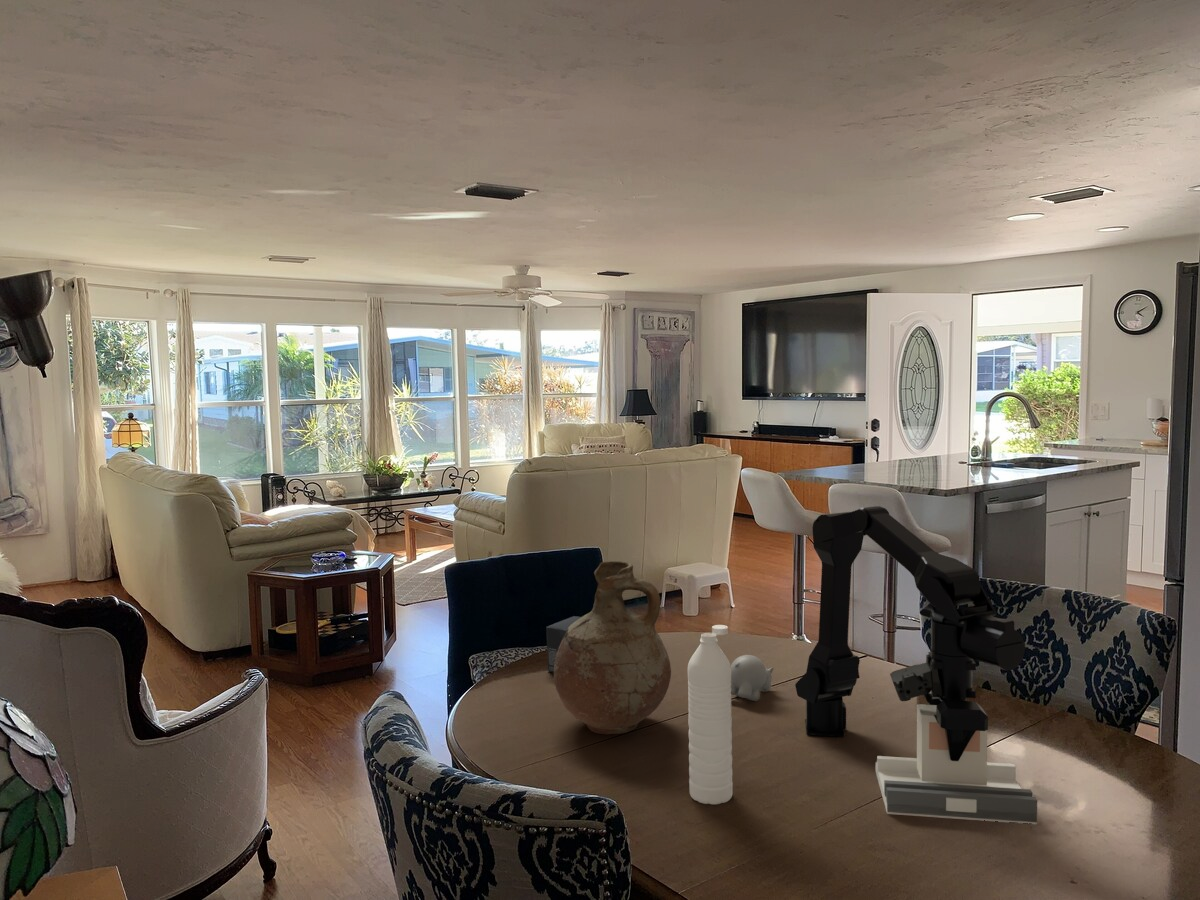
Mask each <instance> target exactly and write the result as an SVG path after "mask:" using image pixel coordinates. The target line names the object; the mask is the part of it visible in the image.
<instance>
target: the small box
mask: <svg viewBox="0 0 1200 900" xmlns="http://www.w3.org/2000/svg"><path fill="white" fill-rule="evenodd" d="M581 617H582V616H575V615H573V616H570V617H568V618H565V619H562V620H560V621H558V622H555V623H553V624H550V625H548V626H546V629H545V631H546V649H547V654H546V655H547V672H548V671H549V672H548V673H550V672H553V673H552V674H554V664H555V659H556V655H557V652H558V649H559V646H560V644H561V642H562V640H563V638H564V636H565V634H566V631H567V628H568V627H569V626H570V625H571V624H573V623H574V622H575V621H577V620H578V619H580V618H581Z"/></svg>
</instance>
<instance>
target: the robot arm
mask: <svg viewBox="0 0 1200 900" xmlns="http://www.w3.org/2000/svg"><path fill="white" fill-rule="evenodd" d="M865 536H868V537H869V538H870V539H871V540H872V541H873V542H874V543H876V544H877V545H878V546H879V547H880V548H881V549H882V550H884V551H885V552H886V553H887V554H888V555H890V557H891V558H893V559H894V560H895V561H896V562H897V563H899V564H900V565H901V566H902V567H903V568H904V569H905V570H907V571H908V572H909V573H910V574H911V575H912V577H913V579H914V582H915V587H916V589H917V590H918V591H919V592H920V594H921V595H922V596H923V597H924V599H926V600H927V602H928V604H927V605H926V606H925V607H923V608H922V609H920V610H919V615H921V616H923V617H925V618H926V617H927V618H929V619H930V623H931V625H930V651H928V652H927V653H928V654H926V657H925V658H926V659H925V662H923V663H918V664H913V665H910V666H907V667H903V668H900V669H895V670H894V671H892V672H890V673H889V676H890V679H891V681H892V683H893V686H894V689H895V691H896V694H897V697H898V698H899V701H900V702H907V701H910V700H912V699H913V698H917V697H920V696H924V698H925V700H926V702H927V703H928V705H937V706H936V715H934V717H935V719H936V721H937V722H938V724H939V725H940V727H941V728H944V729H945V733H946V739H947V745H948V750H949V756H950V760H951V761H959V759H960V757H961V756H962V754H963V752H964V750H965V748H966V747H967V745H968V743H969V741H970V740H971V738H972V736H973V735H974V733H975V732H976V731H986V730H987V731H988V730H989V716H988V714H987V713H986V712H985V710H984V708H983V707H982V706H981V705H980V704H979V703H978V702H977V701H975V700H974V701H972V700H967V698H969V699H976V693H977V692H976V689H975V687H973V671H976V669H977V663H976V661H977V662H980V663H983V664H985V665H989V666H991V667H995V668H998V669H1000V670H1003V671H1008V672H1009V671H1013V670H1015V669H1016V668H1017V667H1018V666H1019V665H1020V664H1021V662H1022V661H1023V658H1024V655H1025V652H1026V643H1025V642H1024V637H1023V636H1022V633H1020V632H1019V631H1018V630H1016V629H1015V621H1014V620H1012V619H1008V618H1000V617H996V616H997V613H998V612H997V610H996V608H995V606H994V605H993V602H992V601H991V599H990V598H989V595H988V594H987V592H986V590H985V588H984V586H983V585H982V582H981V581H980V575H979V574H978V572H977V571H976V570H975V569H974V568H972V566H969V565H968V564H966V563H964V562H963V561H961V560H958V559H956V558H954V557H952V556H948V555H944V554H941V553H939V552H937V551H935V550H934V549H933V548H931V547H930V546H929V545H928V544H927V543H925V542H924V541H923V540H922V539H920V538H919V537H918V536H916V535H915V534H914V533H913V532H912V531H910V529H908V528H906V527H905V526H904V525H903V524H901V522H899V521H898V520H897V519H895V518H894V517H893V516H891V514H890V512H889V511H888V510H887V508H885V507H882V506H879V505H878V506H877V505H876V506H867V507H860V508H858V509H855V510H853V511H845V512H844V511H843V512H834V513H825V514H820V515H819V516H818V517H816V519H814V521H813V524H812V539H813V549H814V551H815V553H816V554H817V555H818V557H819V559H820V561H821V576H820V577H821V579H820V580H821V582H820V596H819V597H820V600H819V621H818V623H819V624H818V641H817V643H816V645H815V646H814V648H813V649H812V651H811V653H810V654H809V656H808V660H807V666H806V671H805V673H804V674H803V675H802V676H801V678H799V679H798V680H797V682H795V685H794V686H795V690H796V694H797V697H799V698H801V699H803V700H804V701H805V719H804V724H805V732H806V733H805V734H806V735H807V736H822V737H823V736H824V737H825V736H826V737H839V738H841V737H842V738H843V737H845V731H846V730H847V705H846V703H845V701H844V699H843V697H851V696H852V693H853V689H854V687H855V686H856V684H857V681H858V679H860V673H859V671H860V670H859V667H860V663H861V661H860V657H859V656H858V655H854V653H853V651H852V650H851V647H850V646H849V627H850V626H849V624H850V623H849V622H850V606H851V605H850V603H851V584H852V582H851V581H852V567H853V566H852V565H853V563H854V562H855V560H856V559H857V557H858V555H859V553H860V552H861V551H862V547H863V541H864V537H865ZM970 604H973V605H970ZM963 605H970V606H965V607H960V606H963ZM958 606H959V608H957V607H958Z"/></svg>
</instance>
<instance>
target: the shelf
mask: <svg viewBox="0 0 1200 900" xmlns="http://www.w3.org/2000/svg"><path fill="white" fill-rule="evenodd" d="M1016 769H1017V767H1016V765H1015V764H1014V763H1007V762H1006V763H1005V762H989V761H987V785H974V784H959V783H943V782H928V781H922V780H921V778H920V775H919V772H918V770H917V757H904V756H902V757H901V756H899V757H898V756H888V755H887V756H885V755H884V756H883V755H877V757H876V761H875V774H876V779H877V782H878V786H879V789H880V793H881V795H882V800H883V804H884V807H885V811H886V814H887V815H899V816H900V815H901V816H914V817H924V818H925V817H926V818H927V817H929V818H941V819H942V818H943V819H955V820H956V819H957V820H966V821H967V820H969V821H970V820H971V821H981V822H982V821H984V820H985V821H986V822H995V821H998V823H1009V822H1018V823H1017V824H1023V823H1028V824H1027V825H1030V824H1029V823H1032V824H1031V825H1038V799H1037V797H1036V796H1033V795H1034V794H1033V791H1032V790H1031V789H1029V788H1022V787H1021V786H1020V784H1019V783H1018V781H1017V780H1016V779H1017V777H1016V776H1017V775H1016V772H1017V771H1016ZM985 821H984V822H985ZM1033 823H1034V824H1033Z"/></svg>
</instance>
